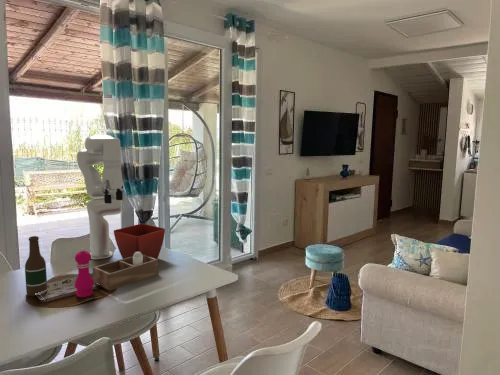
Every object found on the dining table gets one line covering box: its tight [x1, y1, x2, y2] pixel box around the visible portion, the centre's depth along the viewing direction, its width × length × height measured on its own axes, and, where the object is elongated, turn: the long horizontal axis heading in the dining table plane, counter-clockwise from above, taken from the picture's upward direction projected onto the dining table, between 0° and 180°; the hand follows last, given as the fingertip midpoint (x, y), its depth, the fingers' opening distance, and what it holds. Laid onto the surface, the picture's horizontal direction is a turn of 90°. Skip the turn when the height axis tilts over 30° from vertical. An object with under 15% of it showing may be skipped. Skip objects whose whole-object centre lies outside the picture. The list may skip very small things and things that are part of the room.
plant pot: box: [113, 223, 166, 259], centre depth 196 cm, size 19×19×17 cm
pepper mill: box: [74, 247, 95, 298], centre depth 153 cm, size 7×7×20 cm
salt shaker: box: [133, 252, 143, 266], centre depth 174 cm, size 4×4×11 cm
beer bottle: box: [24, 235, 48, 298], centre depth 153 cm, size 8×8×24 cm
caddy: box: [92, 254, 159, 291], centre depth 170 cm, size 13×25×8 cm, turn 142°
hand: (113, 201), depth 173 cm, fingers open, 9 cm apart
